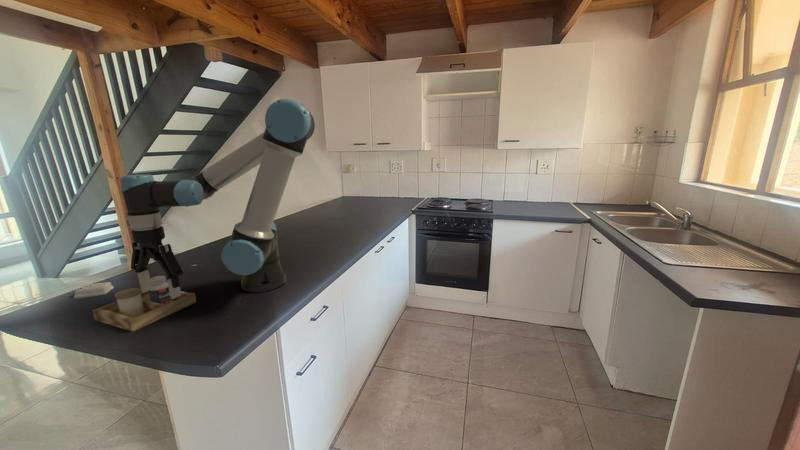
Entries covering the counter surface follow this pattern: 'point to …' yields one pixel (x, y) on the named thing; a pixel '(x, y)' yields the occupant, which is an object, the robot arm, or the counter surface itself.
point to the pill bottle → (159, 290)
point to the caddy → (151, 309)
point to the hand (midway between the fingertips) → (161, 294)
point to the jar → (130, 302)
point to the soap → (93, 290)
